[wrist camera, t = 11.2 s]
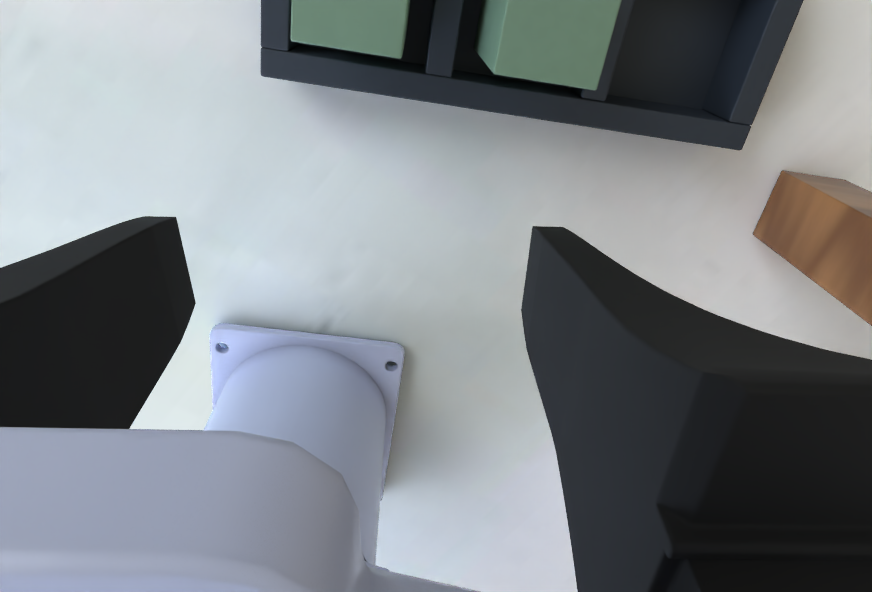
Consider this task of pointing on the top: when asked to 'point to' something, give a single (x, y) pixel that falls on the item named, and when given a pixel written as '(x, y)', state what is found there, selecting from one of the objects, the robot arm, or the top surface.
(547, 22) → the middle green stick
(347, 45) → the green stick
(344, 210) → the top surface
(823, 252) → the oak stick
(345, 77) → the organizer
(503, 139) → the top surface
